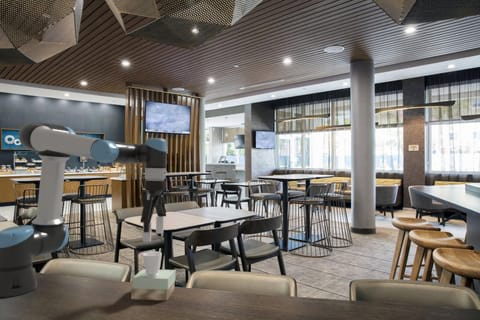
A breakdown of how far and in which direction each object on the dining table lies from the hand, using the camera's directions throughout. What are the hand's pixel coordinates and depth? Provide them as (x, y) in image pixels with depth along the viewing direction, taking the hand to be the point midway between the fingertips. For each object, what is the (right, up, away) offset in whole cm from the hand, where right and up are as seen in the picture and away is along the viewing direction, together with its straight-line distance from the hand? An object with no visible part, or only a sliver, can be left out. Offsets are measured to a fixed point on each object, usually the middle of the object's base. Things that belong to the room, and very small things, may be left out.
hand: (153, 237), depth 121 cm
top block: (0, -18, +1) cm, 18 cm away
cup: (0, -14, 0) cm, 14 cm away
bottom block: (0, -22, +1) cm, 22 cm away
